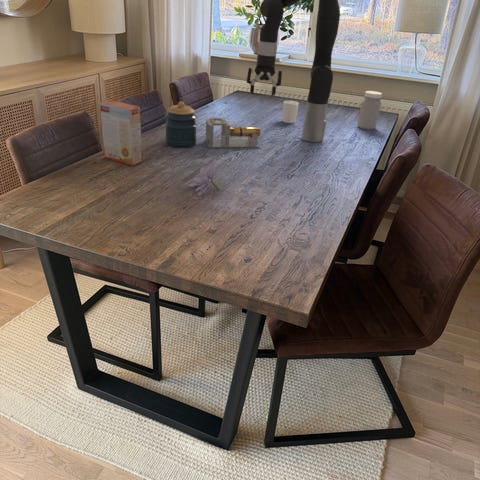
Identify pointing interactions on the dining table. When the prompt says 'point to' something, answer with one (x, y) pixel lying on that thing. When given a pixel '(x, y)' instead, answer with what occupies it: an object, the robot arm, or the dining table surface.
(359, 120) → the jar
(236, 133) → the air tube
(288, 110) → the white cup
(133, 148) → the cracker box
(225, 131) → the collar stand
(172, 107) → the canister
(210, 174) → the water lily
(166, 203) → the dining table surface
